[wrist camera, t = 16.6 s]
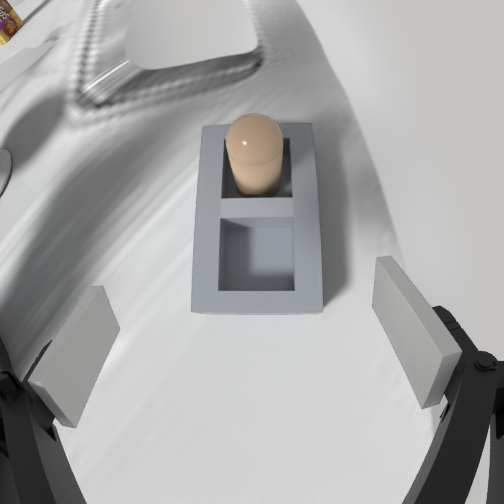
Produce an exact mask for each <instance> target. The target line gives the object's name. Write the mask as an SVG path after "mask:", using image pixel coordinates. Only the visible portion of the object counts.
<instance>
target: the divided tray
mask: <svg viewBox="0 0 504 504" xmlns="http://www.w3.org/2000/svg"><path fill="white" fill-rule="evenodd" d="M276 124H277V125H278V126H279V128H280V130H281V132H282V135H283V155H282V171H281V185H280V189H279V191H278V193H277V194H276V195H275V196H274V197H273V198H243V197H242V196H241V195H240V194H239V192H238V190H237V188H236V184H235V180H234V176H233V172H232V168H231V164H230V160H229V156H228V152H227V148H226V135H227V132H228V129H229V127H230V126H231V125H232V124H227V125H211V126H203V129H202V139H201V149H200V160H199V172H198V184H197V197H196V211H195V227H194V245H193V267H192V294H191V312H194V313H200V314H237V315H289V314H318V313H322V312H323V290H322V258H321V235H320V217H319V201H318V187H317V174H316V163H315V152H314V141H313V132H312V123H276Z"/></svg>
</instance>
